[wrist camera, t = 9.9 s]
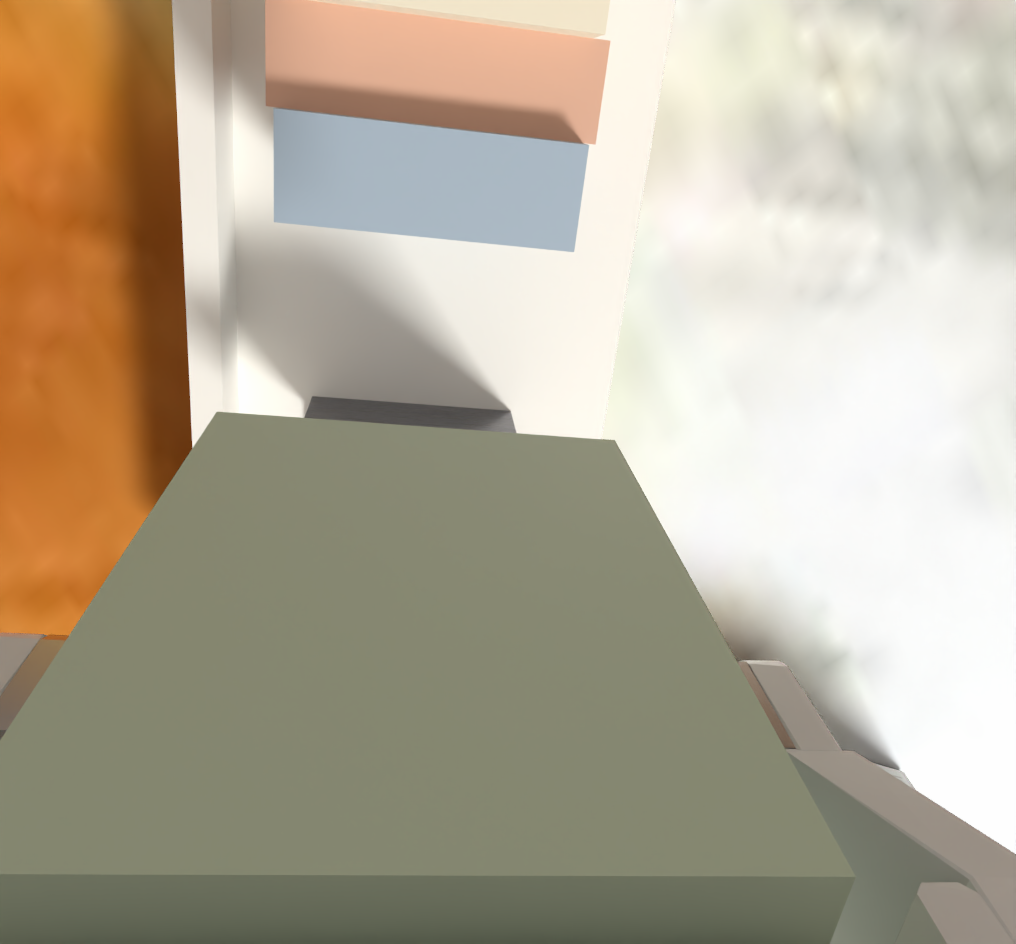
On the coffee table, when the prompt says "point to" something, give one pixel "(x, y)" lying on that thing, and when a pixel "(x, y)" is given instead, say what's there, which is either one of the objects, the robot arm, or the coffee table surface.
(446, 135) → the slotted holder
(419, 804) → the sage green cuboid
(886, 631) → the coffee table surface
